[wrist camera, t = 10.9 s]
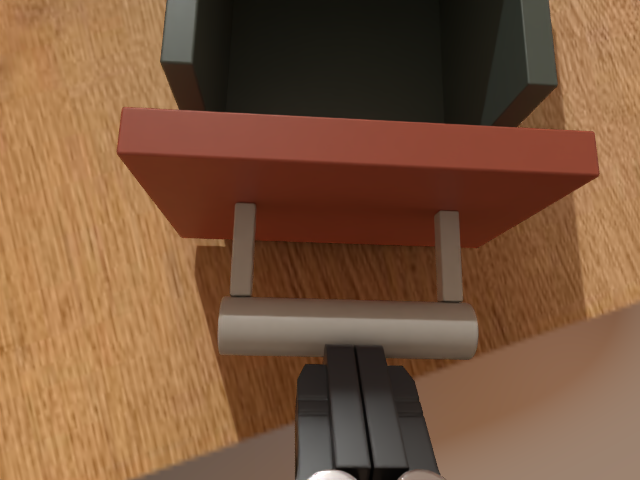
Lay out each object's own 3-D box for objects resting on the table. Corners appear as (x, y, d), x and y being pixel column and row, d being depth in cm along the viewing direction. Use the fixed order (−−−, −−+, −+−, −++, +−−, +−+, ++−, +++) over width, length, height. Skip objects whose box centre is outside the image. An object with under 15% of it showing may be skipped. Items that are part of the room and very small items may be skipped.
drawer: (485, 362, 19) (624, 359, 11) (170, 356, 18) (91, 349, 10) (460, -42, 23) (549, -241, 15) (206, -61, 22) (168, -281, 15)
